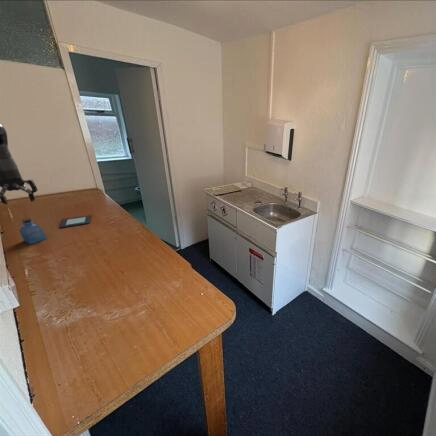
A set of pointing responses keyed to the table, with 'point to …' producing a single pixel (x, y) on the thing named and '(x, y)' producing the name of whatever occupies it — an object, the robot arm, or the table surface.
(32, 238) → the perfume bottle
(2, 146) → the robot arm
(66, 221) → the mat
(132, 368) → the table surface
